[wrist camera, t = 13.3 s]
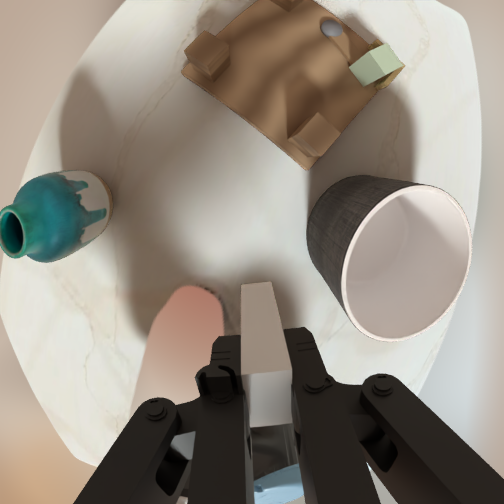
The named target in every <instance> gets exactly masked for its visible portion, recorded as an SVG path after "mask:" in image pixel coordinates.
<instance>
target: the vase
mask: <svg viewBox="0 0 504 504" xmlns="http://www.w3.org/2000/svg"><path fill="white" fill-rule="evenodd" d="M112 210H113V200H112V195H111V192H110V190H109V187H108V186H107V184H106V183H105V182H104V181H103V180H102V179H101V178H100V177H99V176H97V175H96V174H94V173H91V172H87V171H79V170H69V171H60V172H53V173H48V174H44V175H41V176H39V177H36V178H34V179H31V180H30V181H28V182H27V183H26V184H25V185H24V186H23V187H22V188H21V189H20V190H19V192H18V193H17V195H16V197H15V199H14V202H13V204H12V205H9V206H6V207H5V208H3V209H2V210H1V212H0V246H1V248H2V250H3V251H4V252H5V253H6V254H7V255H8V256H9V257H11V258H20V257H23V256H25V255H27V256H28V257H30V258H31V259H33V260H35V261H38V262H44V263H48V262H54V261H57V260H60V259H62V258H65V257H67V256H69V255H71V254H73V253H74V252H76V251H78V250H79V249H81V248H83V247H84V246H86V245H87V244H89V243H90V242H92V241H93V240H94V239H95V238H97V237H98V236H99V235H100V234H101V233H102V232H103V231H104V229H105V228H106V227H107V225H108V223H109V221H110V219H111V215H112Z"/></svg>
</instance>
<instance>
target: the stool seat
mask: <svg viewBox="0 0 504 504" xmlns="http://www.w3.org/2000/svg"><path fill="white" fill-rule="evenodd" d="M326 20H334V21H336V22H338V23H339V24H340V25H341V26H342V29H343V32H344V33H345V34H346V35H347V36H348V38H349V39H350V40H351V41H352V42H353V44H354V45H355V46H356V47H357V49H358V50H359V51H360V52H361V54H362V55H363V56H364V55H365V54H366V53H367V52H369V51H371V50H373V49H375V48H377V47H379V46H381V45H384V44H382V43H381V42H380V41H379V40H378V39H377V40H376V41H374V42H373V43H372V44H371V45H369V44H368V43H367V42H366V41H364V40H363V39H362V38H361V37H360V36H359V35H357V34H356V33H355V32H354V31H353V30H351V29H350V28H349V27H348V26H347V25H345V24H344V23H343V22H342V21H340V20H339V19H338V18H336V17H335V16H334V15H332V14H331V13H330V12H328V11H327V10H326V9H324V8H323V7H321V6H320V5H318V4H317V3H316V2H314V1H313V0H257V1H256V2H255V3H254V4H252V5H251V6H250V7H249V8H247V9H246V10H245V11H244V12H242V13H241V14H240V15H239V16H238V17H237V18H235V19H234V20H233V21H232V22H231V23H230V24H228V25H227V26H226V27H225V28H224V29H223V30H222V31H221V32H220V33H219V34H217V35H216V36H214V35H212V34H210V33H209V32H207V31H204V32H203V33H201V34H200V35H199V36H198V37H197V38H196V39H195V40H194V41H193V42H192V43H191V44H190V45H189V46H188V47H187V48H186V49H185V50H184V52H185V54H186V56H187V58H188V60H189V63H188V64H187V66H186V67H185V68H184V69H183V70H182V71H181V73H182V74H183V76H184V77H186V78H188V79H189V80H190V81H192V82H193V83H195V84H196V85H198V86H199V87H201V88H202V89H204V90H205V91H206V92H208V93H209V94H211V95H212V96H213V97H215V98H216V99H218V100H219V101H220V102H222V103H223V104H225V105H226V106H227V107H229V108H230V109H231V110H233V111H234V112H235V113H237V114H238V115H239V116H240V117H242V118H243V119H244V120H246V121H247V122H248V123H250V124H251V125H252V126H253V127H255V128H256V129H257V130H258V131H260V132H261V133H262V134H263V135H265V136H266V137H267V138H268V139H269V140H271V141H272V142H273V143H274V144H275V145H277V146H278V147H279V148H280V149H281V150H283V151H284V152H285V153H286V154H287V155H288V156H290V157H291V158H292V159H293V160H294V161H295V162H297V163H298V164H299V165H300V166H301V167H302V168H303V169H304V170H309V169H310V168H311V167H312V166H313V165H314V163H315V162H316V161H317V160H318V159H319V158H320V156H322V155H323V154H324V153H325V152H326V151H327V149H328V148H329V147H330V146H331V145H332V144H333V143H334V141H335V140H336V139H337V138H338V137H339V136H340V135H341V132H342V131H343V130H344V129H345V128H346V127H347V126H348V124H349V123H350V122H351V121H352V120H353V119H354V118H355V117H356V115H357V114H358V113H359V112H360V111H361V110H362V109H363V107H364V106H365V105H366V104H367V103H368V102H369V101H370V100H371V98H372V97H373V96H374V95H375V94H376V93H377V92H378V91H379V90H381V89H383V88H385V87H387V86H388V85H389V84H390V83H391V82H392V80H393V79H394V78H395V77H396V76H397V75H398V74H399V73H400V71H401V70H402V69H403V68H404V67H405V65H404V64H403V63H402V62H401V63H402V64H403V66H402V67H400V68H398V69H396V70H394V71H392V72H390V73H388V74H387V75H385V76H383V77H381V78H379V79H377V80H376V81H374V82H372V83H370V84H368V85H366V86H365V87H363V86H362V85H361V83H360V82H359V81H358V79H357V78H356V76H355V75H354V74H353V72H352V71H351V70H350V68H349V67H350V66H351V65H350V63H349V62H348V61H347V60H346V58H345V57H344V56H343V55H342V53H341V52H340V51H339V50H338V48H337V47H336V46H335V45H334V44H333V42H332V41H331V40H330V39H329V38H328V37H326V36H325V35H324V34H323V33H322V32H321V25H322V24H323V22H324V21H326Z"/></svg>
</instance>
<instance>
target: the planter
mask: <svg viewBox="0 0 504 504" xmlns="http://www.w3.org/2000/svg"><path fill="white" fill-rule="evenodd" d="M307 246H308V251H309V255H310V258H311V260H312V262H313V264H314V266H315V267H316V269H317V270H318V271H319V273H320V274H321V275H322V277H323V278H324V280H325V281H326V283H327V285H328V286H329V288H330V289H331V291H332V292H333V294H334V295H335V297H336V299H337V300H338V302H339V303H340V305H341V306H342V308H343V310H344V311H345V313H346V314H347V316H348V317H349V319H350V321H351V322H352V323H353V325H354V326H355V327H356V328H357V329H358V330H359V331H360V332H362V333H363V334H364V335H366V336H368V337H370V338H372V339H375V340H379V341H385V342H396V341H402V340H406V339H410V338H412V337H415V336H417V335H419V334H421V333H423V332H425V331H426V330H428V329H429V328H431V327H432V326H434V325H435V324H436V323H437V322H438V321H439V320H440V319H442V317H443V316H444V315H445V314H446V313H447V312H448V311H449V310H450V308H451V307H452V306H453V304H454V303H455V301H456V300H457V298H458V296H459V295H460V293H461V291H462V289H463V287H464V284H465V282H466V278H467V276H468V272H469V268H470V264H471V257H472V237H471V231H470V226H469V223H468V220H467V217H466V215H465V213H464V211H463V209H462V208H461V206H460V205H459V203H458V202H457V201H456V200H455V199H454V198H453V197H452V196H451V195H450V194H448V193H447V192H445V191H444V190H442V189H440V188H437V187H434V186H430V185H424V184H419V183H413V182H407V181H400V180H393V179H386V178H378V177H373V176H366V175H359V176H352V177H348V178H346V179H343V180H341V181H339V182H337V183H336V184H334V185H333V186H331V187H330V188H329V189H328V190H327V191H326V192H325V193H324V194H323V195H322V196H321V197H320V199H319V200H318V201H317V203H316V205H315V206H314V208H313V211H312V213H311V215H310V219H309V222H308V227H307Z"/></svg>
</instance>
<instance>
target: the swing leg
mask: <svg viewBox="0 0 504 504" xmlns="http://www.w3.org/2000/svg"><path fill="white" fill-rule="evenodd" d="M321 32H322V33H323V34H324V35H325V36H326V37H328V38H329V39H330V40H331V41H332V42H333V44H334V45H335V46H336V47H337V48H338V50H339V51H340V52H341V53H342V55H343V56H344V57H345V58H346V60H347V61H348V62H349V63H350V65H351V66H350V67H349V68H350V70H351V71H352V72H353V74H354V75H355V76H356V78H357V79H358V81H359V82H360V83H361V85H362V86H363V87H365V86H366V85H368V84H370V83H372V82H374V81H376V80H377V79H379V78H381V77H383V76H385V75H387V74H388V73H390V72H392V71H394V70H396V69H398V68H400V67H402V66H403V64H402V63H401V61H400V60H399V59H398V57H397V56H396V54H395V53H394V52H393V50H392V49H391V48H390V46H389V45H388V44H387V43H386V44H384V45H381V46H379V47H377V48H375V49H373V50H371V51H369V52H367V53H366V54H365V55H364V56H363V55H362V54H361V52H360V51H359V50H358V49H357V47H356V46H355V45H354V44H353V42H352V41H351V40H350V39H349V38H348V36H347V35H346V34H345V33H344V32H343V29H342V26H341V25H340V24H339V23H338V22H336V21H334V20H326V21H324V22H323V24H322V25H321Z"/></svg>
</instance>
